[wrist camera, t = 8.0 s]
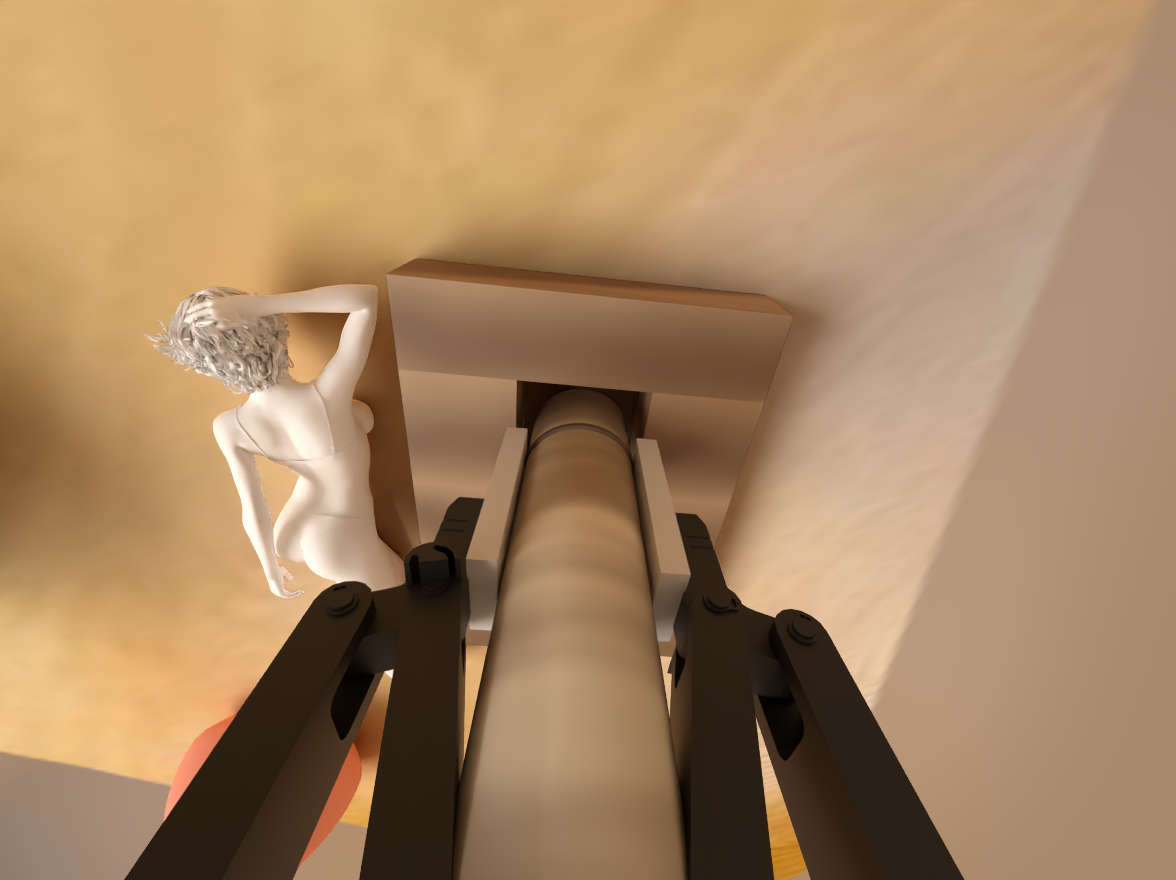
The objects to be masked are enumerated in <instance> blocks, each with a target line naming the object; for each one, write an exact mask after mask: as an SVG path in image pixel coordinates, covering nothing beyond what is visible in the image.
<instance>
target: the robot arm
mask: <svg viewBox="0 0 1176 880" xmlns="http://www.w3.org/2000/svg"><path fill="white" fill-rule="evenodd" d="M527 431H528V429H525V428H513V427H507V429H506V432H505V435H504V439H503V442H502V445H501V448H500V451H499V455H498V458H497V461H496V464H495V467H494V470H493V474H492V477H491V480H490V483H489V486H488V490H487V493H486V496H485V499H482V498H469V497H458V498H457V499H456V500H455V501H454V502H453V503H452V504H451V505H450V506H448V508H447V511H446V513H445V516H444V518H443V521H442V523H441V525H440V528H439V531H438V533H437V535H436V537H435V540H434V542H429V543H424V544H422V545H420V546H418V547H416V548H414V549H413V550H412V551H411V552H410V553H409V554H408V555H407V556H406V558H405V561H404V563H403V564H404V570H405V576H406V583H404V584H402V585H400V586H396V587H393V588H388V589H383V590H378V591H371V588H369V587H368V586H367V585H366V584H365V583H362V582H358V581H344V582H341V583H338V584H335V585H332V586H331V587H329V588H327V589H326V590H324V591H322V592H321V593H320V594H319V595H318V597H317V598H316V599H315V600H314V601H313V603H312V604H311V606H310V607H309V608H308V610H307V611H306V613H305V614H304V616H303V617H302V619H301V620H300V622H299V623H298V625H297V626H296V628H295V629H294V631H293V632H292V633H291V635H290V636H289V638H288V639H287V641H286V642H285V644H284V645H283V647H282V648H281V650H280V651H279V653H278V654H277V656H276V657H275V659H274V660H273V661H272V663H271V664H270V666H269V667H268V669H267V670H266V672H265V673H264V675H263V676H262V678H261V679H260V681H259V682H258V684H257V685H256V687H255V688H254V689H253V691H252V692H251V694H250V695H249V697H248V698H247V700H246V701H245V703H244V704H243V706H242V707H241V709H240V710H239V712H238V713H237V714H236V716H235V717H234V719H233V720H232V722H231V723H230V725H229V726H228V728H227V729H226V731H225V732H224V734H223V735H222V737H221V738H220V740H219V741H218V742H217V744H216V745H215V747H214V748H213V750H212V751H211V753H210V754H209V756H208V757H207V759H206V760H205V762H204V763H203V765H202V766H201V768H200V769H199V770H198V772H197V773H196V775H195V776H194V778H193V779H192V781H191V782H190V784H189V785H188V787H187V788H186V790H185V791H184V793H183V794H182V795H181V797H180V798H179V800H178V801H177V803H176V804H175V806H174V807H173V809H172V810H171V812H170V813H169V815H168V816H167V818H166V819H165V821H164V822H163V823H162V825H161V826H160V828H159V829H158V831H157V832H156V834H155V835H154V837H153V838H152V840H151V841H150V843H149V844H148V846H147V847H146V849H145V850H144V851H143V853H142V854H141V856H140V857H139V859H138V860H137V862H136V863H135V865H134V866H133V868H132V869H131V871H130V872H129V874H128V875H127V876H126V878H125V879H124V880H293V878H294V875H295V873H296V871H297V869H298V866H299V864H300V862H301V860H302V857H303V855H304V853H305V850H306V848H307V846H308V844H309V841H310V839H311V837H312V835H313V832H314V830H315V828H316V826H317V823H318V821H319V819H320V816H321V814H322V812H323V810H324V807H325V805H326V803H327V801H328V798H329V796H330V794H331V791H332V789H333V787H334V785H335V782H336V780H337V778H338V776H339V773H340V771H341V769H342V767H343V764H344V762H345V760H346V757H347V755H348V753H349V751H350V748H351V746H352V744H353V742H354V739H355V737H356V735H357V733H358V730H359V728H360V726H361V723H362V721H363V719H364V717H365V714H366V712H367V710H368V708H369V705H370V703H371V701H372V698H373V696H374V694H375V692H376V689H377V687H378V685H379V683H380V680H381V678H382V676H383V674H384V672H385V671H389V670H393V669H394V670H393V676H392V682H391V688H390V694H389V701H388V707H387V713H386V719H385V725H384V731H383V737H382V743H381V749H380V756H379V762H378V768H377V774H376V780H375V786H374V792H373V798H372V804H371V811H370V817H369V823H368V829H367V835H366V842H365V847H364V854H363V860H362V866H361V872H360V878H359V880H452V870H453V853H454V836H455V819H456V806H457V794H458V787H459V782H460V777H461V772H462V768H463V756H464V712H465V669H466V636H465V634H466V630H467V626H468V622H469V623H470V629H474V630H490V631H491V629H492V624H493V619H494V615H495V610H496V605H497V600H498V596H499V591H500V586H501V581H502V576H503V572H504V567H505V562H506V557H507V553H508V548H509V543H510V538H511V533H512V529H513V524H514V519H515V514H516V510H517V505H518V500H519V495H520V490H521V486H522V481H523V476H524V462H525V457H526V454H527ZM633 464H634V475H633V478H634V485H635V492H636V498H637V505H638V512H639V518H640V525H641V532H642V538H643V545H644V552H645V558H646V565H647V572H648V578H649V585H650V592H651V598H652V605H653V612H654V618H655V625H656V632H657V638H658V641H667V642H670V639H671V636H672V633H673V630H674V635H675V640H676V647H675V650H674V653H673V656H672V659H671V662H670V665H669V669H668V672H667V673H670V674H671V673H672V681H671V703H670V725H671V732H672V738H673V745H674V752H675V758H676V765H677V772H678V778H679V785H680V792H681V798H682V806H683V815H684V824H685V840H686V855H687V874H688V880H774V874H773V865H772V857H771V848H770V839H769V830H768V821H767V813H766V804H765V795H764V786H763V777H762V769H761V760H760V751H759V742H758V733H757V725H756V718H757V721H758V724H759V727H760V730H761V733H762V736H763V739H764V742H765V745H766V748H767V751H768V754H769V757H770V760H771V763H772V766H773V769H774V772H775V775H776V778H777V781H778V783H779V786H780V789H781V792H782V795H783V798H784V801H785V804H786V807H787V810H788V813H789V816H790V819H791V822H792V825H793V828H794V831H795V834H796V837H797V840H798V843H799V846H800V849H801V852H802V855H803V858H804V860H805V863H806V866H807V869H808V872H809V875H810V878H811V880H964V878H963V877H962V875H961V873H960V871H959V869H958V868H957V866H956V864H955V862H954V860H953V859H952V857H951V855H950V853H949V851H948V850H947V848H946V846H945V844H944V842H943V840H942V839H941V837H940V835H939V833H938V832H937V830H936V828H935V826H934V824H933V822H932V821H931V819H930V817H929V815H928V814H927V812H926V810H925V808H924V806H923V804H922V803H921V801H920V799H919V797H918V795H917V793H916V792H915V790H914V788H913V786H912V785H911V783H910V781H909V779H908V777H907V775H906V774H905V772H904V770H903V768H902V766H901V765H900V763H899V761H898V759H897V757H896V756H895V754H894V752H893V750H892V748H891V746H890V745H889V743H888V741H887V739H886V738H885V736H884V734H883V732H882V730H881V728H880V727H879V725H878V723H877V721H876V720H875V718H874V716H873V714H872V712H871V710H870V709H869V707H868V705H867V703H866V701H865V699H864V698H863V696H862V694H861V692H860V690H859V689H858V687H857V685H856V683H855V681H854V680H853V678H852V676H851V674H850V672H849V671H848V669H847V667H846V665H845V663H844V662H843V660H842V658H841V656H840V654H839V652H838V651H837V649H836V647H835V645H834V643H833V642H832V640H831V638H830V636H829V634H828V633H827V631H826V630H825V629H824V627H823V626H822V625H821V623H820V622H818V621H817V620H816V619H815V618H813V617H812V616H810V615H808V614H806V613H804V612H802V611H799V610H794V609H787V610H782V611H781V612H780V613H778V614H777V616H776V618H774V617H771V616H768V615H765V614H763V613H760V612H757V611H754V610H752V609H749V608H747V607H746V606H744V605H742V603H741V600H740V599H739V598H738V597H737V595H736V594H735V593H734V592H732V591H731V590H730V589H728V588H727V586H726V583H725V580H724V577H723V574H722V571H721V568H720V565H719V562H718V559H717V556H716V553H715V550H714V547H713V544H712V541H711V540H710V535H709V532H708V529H707V526H706V525H705V523H704V522H703V521H702V520H701V519H700V518H699V517H698V515H697V514H687V513H675V511H674V507H673V503H672V499H671V495H670V491H669V487H668V483H667V479H666V476H665V472H664V468H663V464H662V460H661V456H660V452H659V448H658V444H657V440H652V439H641V438H637V439H636V444H635V450H634V455H633ZM755 715H756V716H755Z"/></svg>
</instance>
